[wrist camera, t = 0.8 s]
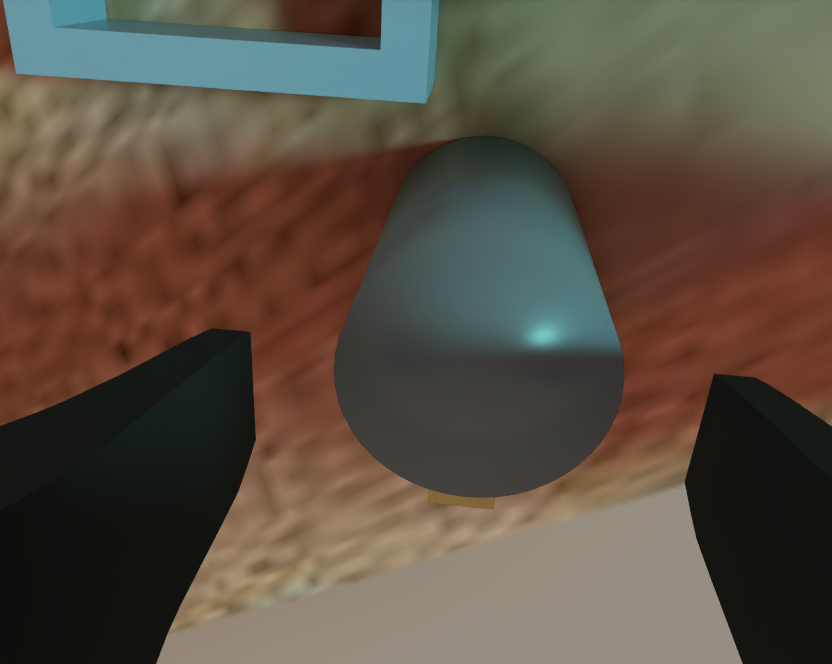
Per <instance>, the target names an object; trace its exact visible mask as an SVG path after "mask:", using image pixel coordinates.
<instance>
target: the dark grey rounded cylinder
mask: <svg viewBox="0 0 832 664" xmlns="http://www.w3.org/2000/svg"><path fill="white" fill-rule="evenodd" d="M334 377H335V387H336V392H337V397H338V401H339V404H340V407H341V409H342V412H343V415H344V417H345V419H346V421H347V423H348V425H349V426H350V428H351V430H352V432H353V433H354V434H355V436H356V437H357V439H358V440H359V441H360V443H361V444H362V445H363V446H364V447H365V448H366V449H367V450H368V452H369V453H370V454H371V455H372V456H373V457H374V458H376V459H377V460H378V461H379V462H380V463H382V464H383V465H384V466H385V467H387V468H388V469H390V470H391V471H393V472H394V473H396V474H397V475H399V476H400V477H402V478H404V479H406V480H408V481H410V482H412V483H414V484H417V485H419V486H422V487H424V488H427V489H429V491H428V503H436V504H446V505H455V506H465V507H474V508H484V509H493V508H494V500H495V497H501V496H508V495H514V494H518V493H522V492H526V491H529V490H533V489H536V488H538V487H541V486H543V485H546V484H548V483H550V482H552V481H554V480H556V479H558V478H560V477H562V476H563V475H565V474H567V473H568V472H569V471H571V470H572V469H574V468H575V467H577V466H578V465H579V464H580V463H581V462H582V461H584V460H585V459H586V458H587V457H588V456H589V455H590V454H591V453H592V452H593V451H594V450H595V448H596V447H597V446H598V445H599V444H600V443H601V441H602V440H603V438H604V437H605V435H606V434H607V432H608V431H609V429H610V427H611V425H612V423H613V421H614V419H615V417H616V414H617V412H618V409H619V405H620V402H621V398H622V393H623V385H624V361H623V356H622V350H621V345H620V342H619V339H618V336H617V333H616V330H615V327H614V324H613V321H612V318H611V315H610V312H609V309H608V306H607V303H606V300H605V297H604V294H603V291H602V288H601V285H600V282H599V279H598V276H597V273H596V270H595V267H594V264H593V261H592V258H591V255H590V252H589V249H588V246H587V243H586V240H585V237H584V234H583V231H582V228H581V225H580V222H579V219H578V216H577V213H576V210H575V207H574V204H573V201H572V198H571V195H570V192H569V189H568V187H567V185H566V183H565V181H564V179H563V178H562V177H561V175H560V174H559V172H558V171H557V169H556V168H555V167H554V166H553V165H552V164H551V163H550V162H549V161H548V160H547V159H546V158H544V157H543V156H542V155H541V154H539V153H538V152H536V151H535V150H533V149H532V148H530V147H528V146H526V145H524V144H521V143H519V142H517V141H514V140H510V139H506V138H502V137H495V136H474V137H466V138H462V139H459V140H455V141H452V142H449V143H447V144H445V145H442V146H440V147H439V148H437V149H435V150H433V151H432V152H430V153H429V154H428V155H426V156H425V157H424V158H422V159H421V160H420V161H419V162H418V163H417V164H416V165H415V166H414V167H413V168H412V170H411V171H410V172H409V174H408V175H407V176H406V178H405V179H404V181H403V183H402V185H401V186H400V188H399V191H398V193H397V196H396V198H395V201H394V203H393V206H392V208H391V210H390V213H389V215H388V218H387V220H386V223H385V225H384V228H383V230H382V233H381V235H380V237H379V240H378V242H377V245H376V247H375V250H374V252H373V255H372V257H371V260H370V262H369V264H368V267H367V269H366V272H365V274H364V277H363V279H362V282H361V284H360V287H359V289H358V291H357V294H356V296H355V299H354V301H353V304H352V306H351V309H350V311H349V314H348V316H347V318H346V321H345V323H344V326H343V328H342V331H341V333H340V336H339V339H338V344H337V348H336V352H335V363H334Z"/></svg>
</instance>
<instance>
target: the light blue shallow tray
mask: <svg viewBox="0 0 832 664" xmlns="http://www.w3.org/2000/svg"><path fill="white" fill-rule="evenodd" d="M3 3H4V9H5V14H6V20H7V25H8V31H9V37H10V42H11V48H12V54H13V59H14V65H15V71H16V74H30V75H43V76H57V77H70V78H84V79H98V80H111V81H125V82H139V83H152V84H166V85H180V86H193V87H207V88H221V89H234V90H248V91H262V92H275V93H289V94H303V95H316V96H330V97H344V98H357V99H371V100H385V101H398V102H412V103H425V104H426V102H427V100H428V98H429V95H430V93H431V91H432V89H433V87H434V78H435V62H436V47H437V31H438V15H439V0H382V19H381V38H377V37H363V36H348V35H333V34H319V33H304V32H290V31H275V30H260V29H246V28H231V27H217V26H202V25H187V24H173V23H158V22H143V21H129V20H114V19H107V15H106V6H105V0H3Z"/></svg>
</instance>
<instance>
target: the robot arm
mask: <svg viewBox="0 0 832 664" xmlns="http://www.w3.org/2000/svg"><path fill="white" fill-rule="evenodd" d="M255 440H256V435H255V415H254V395H253V375H252V355H251V335H250V332H246V331H235V330H224V329H210V330H207V331H205V332H202V333H200V334H198V335H196V336H194V337H192V338H190V339H188V340H186V341H184V342H182V343H180V344H178V345H176V346H174V347H172V348H171V349H169V350H167V351H165V352H163V353H161V354H159V355H157V356H155V357H153V358H152V359H150V360H148V361H146V362H144V363H142V364H140V365H138V366H136V367H134V368H132V369H130V370H129V371H127V372H125V373H123V374H121V375H119V376H117V377H115V378H113V379H110V380H108V381H106V382H104V383H102V384H100V385H98V386H95V387H93V388H91V389H89V390H87V391H85V392H83V393H81V394H78V395H76V396H74V397H72V398H70V399H68V400H66V401H63V402H61V403H59V404H56V405H54V406H52V407H49V408H47V409H44V410H42V411H39V412H37V413H34V414H32V415H29V416H26V417H24V418H21V419H18V420H16V421H13V422H10V423H7V424H5V425H2V426H0V664H156V662H157V660H158V657H159V655H160V652H161V649H162V647H163V644H164V641H165V639H166V636H167V634H168V631H169V629H170V627H171V625H172V623H173V620H174V618H175V616H176V614H177V612H178V610H179V607H180V605H181V603H182V601H183V599H184V597H185V595H186V593H187V592H188V590H189V588H190V586H191V584H192V582H193V580H194V578H195V576H196V574H197V572H198V570H199V568H200V566H201V564H202V562H203V560H204V558H205V556H206V554H207V553H208V551H209V549H210V547H211V545H212V543H213V541H214V539H215V537H216V535H217V533H218V531H219V529H220V527H221V525H222V523H223V521H224V519H225V517H226V515H227V513H228V511H229V509H230V507H231V505H232V503H233V501H234V499H235V497H236V495H237V493H238V491H239V488H240V485H241V482H242V480H243V477H244V474H245V471H246V468H247V465H248V462H249V459H250V456H251V453H252V450H253V447H254V443H255ZM685 485H686V491H687V496H688V501H689V506H690V512H691V516H692V520H693V525H694V529H695V534H696V538H697V541H698V544H699V547H700V550H701V553H702V555H703V558H704V561H705V564H706V566H707V569H708V572H709V575H710V577H711V580H712V583H713V586H714V588H715V591H716V594H717V596H718V599H719V601H720V604H721V607H722V609H723V612H724V614H725V618H726V620H727V623H728V626H729V628H730V631H731V633H732V636H733V639H734V642H735V644H736V647H737V650H738V652H739V655H740V658H741V660H742V663H743V664H832V426H830V425H829V424H827V423H826V422H824V421H823V420H821V419H820V418H818V417H817V416H815V415H814V414H813V413H811V412H810V411H808V410H807V409H805V408H804V407H802V406H801V405H799V404H798V403H796V402H795V401H793V400H792V399H790V398H789V397H787V396H786V395H784V394H783V393H781V392H780V391H778V390H776V389H775V388H773V387H772V386H770V385H768V384H766V383H765V382H763V381H761V380H759V379H757V378H754V377H743V376H732V375H721V374H714V376H713V380H712V383H711V387H710V391H709V394H708V398H707V402H706V406H705V409H704V413H703V417H702V420H701V424H700V428H699V431H698V435H697V439H696V442H695V446H694V450H693V454H692V457H691V461H690V465H689V468H688V472H687V476H686V479H685Z"/></svg>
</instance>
